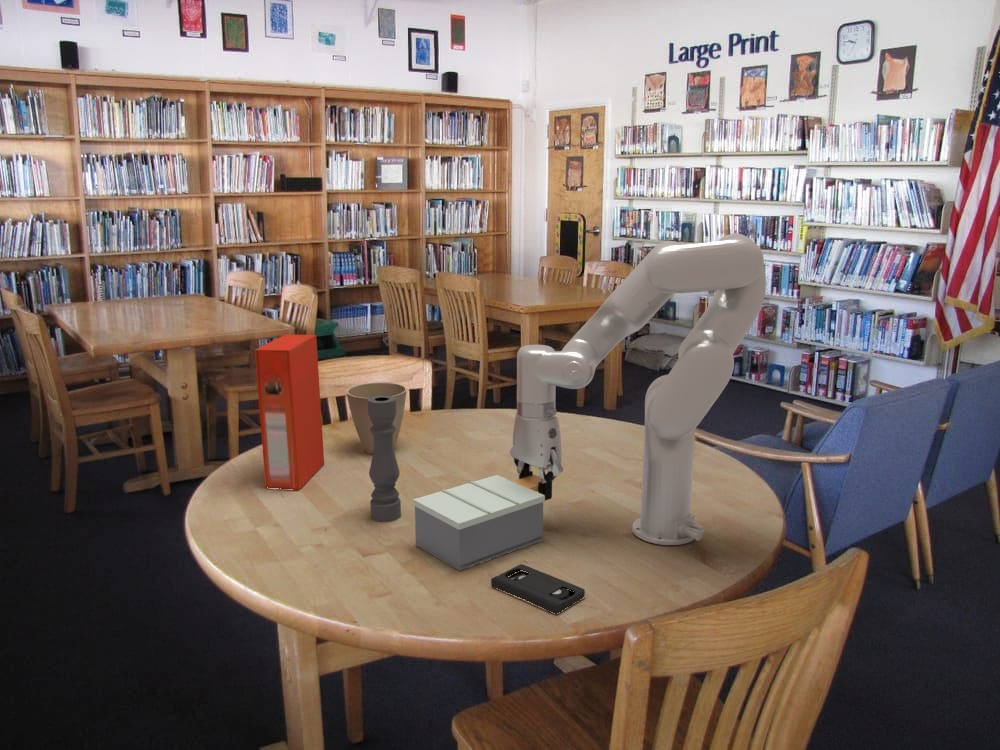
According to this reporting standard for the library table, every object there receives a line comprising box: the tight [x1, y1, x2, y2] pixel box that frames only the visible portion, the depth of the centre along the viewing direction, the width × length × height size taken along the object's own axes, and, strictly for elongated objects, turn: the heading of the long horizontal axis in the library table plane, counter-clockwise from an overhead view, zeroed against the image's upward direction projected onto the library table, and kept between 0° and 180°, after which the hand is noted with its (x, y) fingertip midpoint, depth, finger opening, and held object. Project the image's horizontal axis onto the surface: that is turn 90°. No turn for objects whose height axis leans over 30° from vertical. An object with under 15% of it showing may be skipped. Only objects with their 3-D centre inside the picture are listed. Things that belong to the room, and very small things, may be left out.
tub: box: [414, 502, 544, 572], centre depth 162 cm, size 14×20×8 cm
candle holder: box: [368, 396, 402, 523], centre depth 172 cm, size 6×6×25 cm
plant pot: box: [346, 382, 407, 455], centre depth 214 cm, size 15×15×16 cm
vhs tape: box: [490, 563, 586, 614], centre depth 144 cm, size 14×8×2 cm, turn 48°
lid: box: [412, 474, 545, 530], centre depth 163 cm, size 14×26×2 cm, turn 129°
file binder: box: [254, 334, 325, 491], centre depth 194 cm, size 8×17×32 cm, turn 173°
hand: (535, 494), depth 170 cm, fingers closed on lid, 5 cm apart
